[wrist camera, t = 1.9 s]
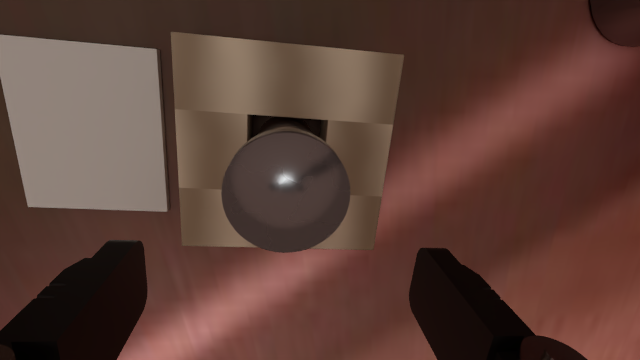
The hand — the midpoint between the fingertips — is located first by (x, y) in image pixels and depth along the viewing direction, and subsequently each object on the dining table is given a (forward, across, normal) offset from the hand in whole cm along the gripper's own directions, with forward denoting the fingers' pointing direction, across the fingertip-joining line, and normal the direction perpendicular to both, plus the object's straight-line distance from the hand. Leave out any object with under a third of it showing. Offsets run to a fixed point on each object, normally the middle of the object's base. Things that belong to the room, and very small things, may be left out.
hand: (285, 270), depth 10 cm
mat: (+17, +14, 0) cm, 22 cm away
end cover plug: (+17, 0, 0) cm, 17 cm away
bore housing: (+17, 0, 0) cm, 17 cm away
